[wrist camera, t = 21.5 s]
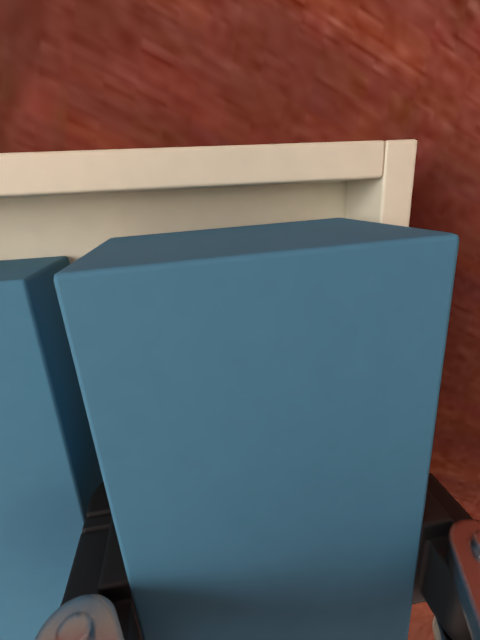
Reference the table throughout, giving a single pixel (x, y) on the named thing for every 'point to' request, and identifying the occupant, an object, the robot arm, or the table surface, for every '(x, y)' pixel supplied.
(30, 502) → the blue brick
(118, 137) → the table surface
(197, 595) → the blue rectangular block
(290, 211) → the cream tray
